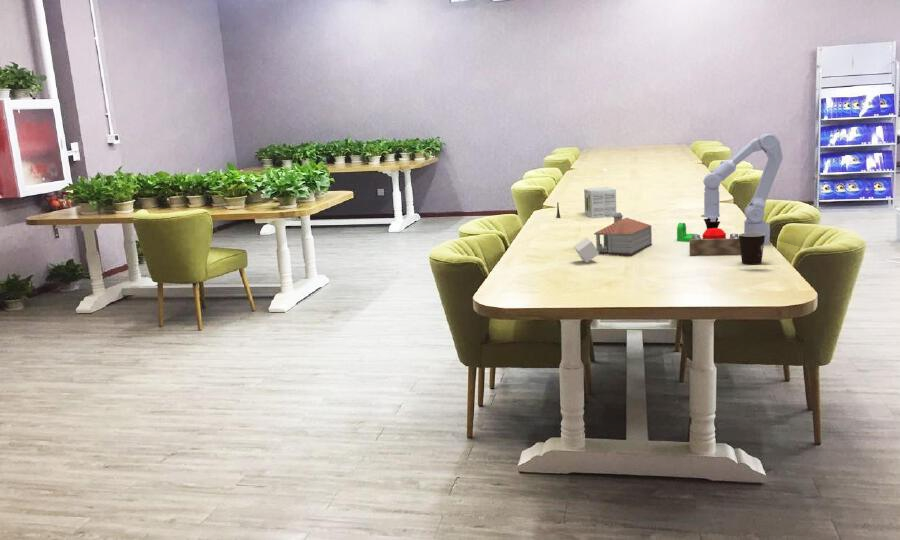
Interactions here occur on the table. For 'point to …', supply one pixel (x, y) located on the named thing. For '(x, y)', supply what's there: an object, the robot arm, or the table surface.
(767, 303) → the table surface
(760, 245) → the coffee mug
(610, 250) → the model house
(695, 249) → the backstop
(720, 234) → the red black angular block
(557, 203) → the eiffel tower figurine
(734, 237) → the grey round piece
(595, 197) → the supplement box
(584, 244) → the light grey cube
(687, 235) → the mechanical part
